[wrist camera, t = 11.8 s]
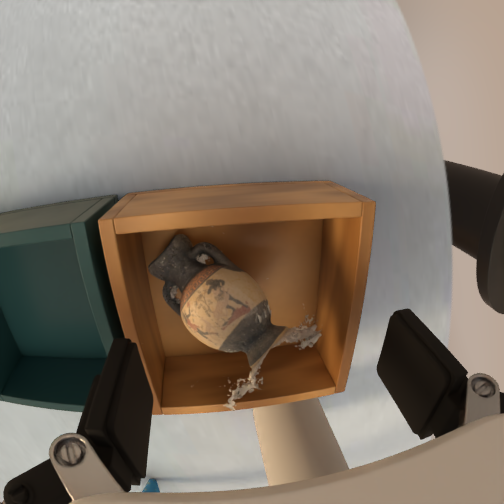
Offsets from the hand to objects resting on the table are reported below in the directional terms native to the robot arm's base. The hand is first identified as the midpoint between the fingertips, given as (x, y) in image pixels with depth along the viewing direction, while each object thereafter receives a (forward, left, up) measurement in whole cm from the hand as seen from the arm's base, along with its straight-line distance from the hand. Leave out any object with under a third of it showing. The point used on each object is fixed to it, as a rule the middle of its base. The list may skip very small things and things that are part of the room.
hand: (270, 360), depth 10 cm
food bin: (+1, 0, -7) cm, 7 cm away
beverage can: (-2, +10, -7) cm, 13 cm away
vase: (0, +2, -3) cm, 4 cm away
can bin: (+11, 0, -7) cm, 13 cm away
